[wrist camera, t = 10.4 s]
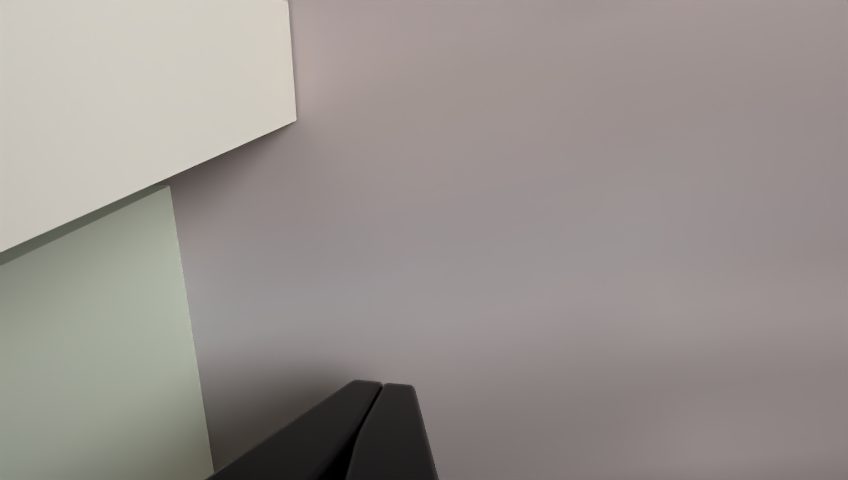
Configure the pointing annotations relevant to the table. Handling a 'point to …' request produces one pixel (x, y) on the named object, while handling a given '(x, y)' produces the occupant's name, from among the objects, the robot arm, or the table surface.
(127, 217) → the cabinet block
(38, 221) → the cleat board
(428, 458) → the robot arm
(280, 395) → the table surface
